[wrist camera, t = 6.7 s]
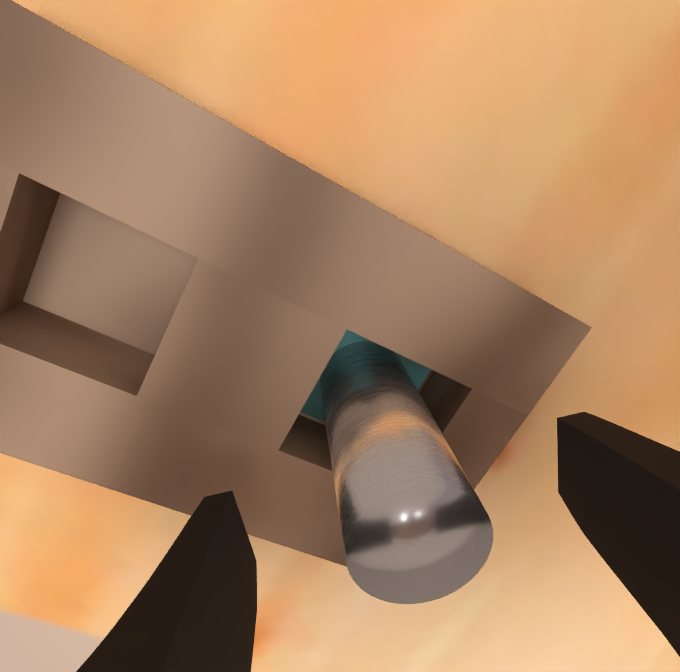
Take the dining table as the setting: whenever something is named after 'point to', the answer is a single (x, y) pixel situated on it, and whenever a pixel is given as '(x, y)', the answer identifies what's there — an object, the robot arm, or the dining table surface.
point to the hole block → (220, 300)
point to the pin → (397, 482)
